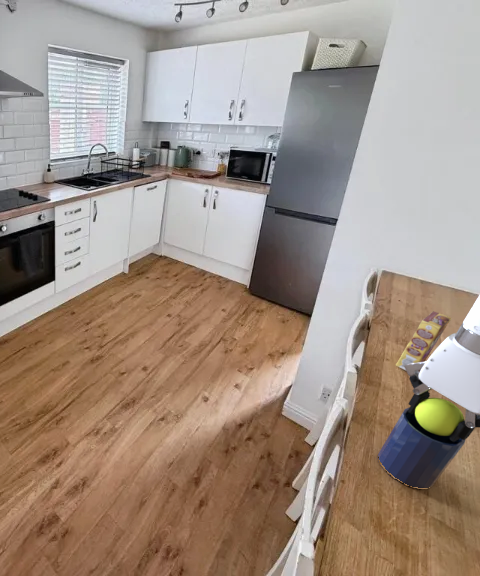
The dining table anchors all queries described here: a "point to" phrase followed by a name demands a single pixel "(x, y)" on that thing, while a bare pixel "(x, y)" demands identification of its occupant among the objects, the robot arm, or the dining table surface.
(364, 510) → the dining table surface
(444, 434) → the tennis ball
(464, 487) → the dining table surface
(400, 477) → the blue round container
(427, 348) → the candy box
